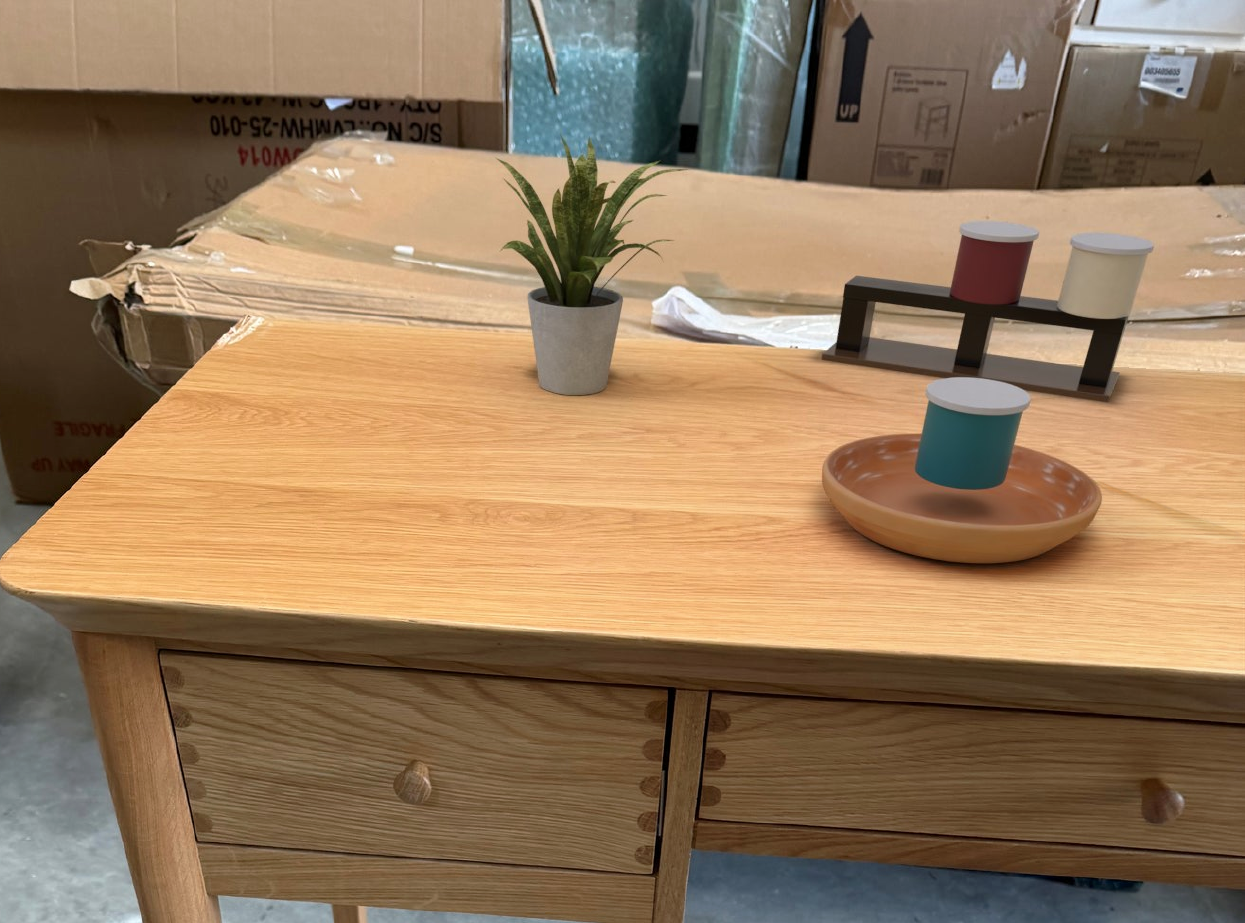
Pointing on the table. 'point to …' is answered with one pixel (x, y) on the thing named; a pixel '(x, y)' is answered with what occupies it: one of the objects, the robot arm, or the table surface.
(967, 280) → the burgundy pod
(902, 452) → the saucer
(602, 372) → the house plant
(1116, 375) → the stand
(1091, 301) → the cup
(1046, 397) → the table surface
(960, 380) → the teal pod
